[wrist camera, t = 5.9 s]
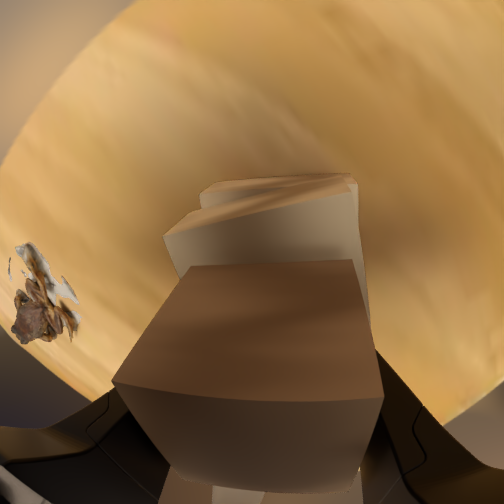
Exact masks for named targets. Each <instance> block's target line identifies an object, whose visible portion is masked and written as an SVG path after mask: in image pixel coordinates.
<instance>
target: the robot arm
mask: <svg viewBox="0 0 504 504" xmlns="http://www.w3.org/2000/svg"><path fill="white" fill-rule="evenodd" d="M375 351H376V356H377V360H378V365H379V370H380V376H381V381H382V386H383V392H384V400H383V403H382V406H381V409H380V412H379V416H378V419H377V422H376V425H375V427H374V430H373V433H372V436H371V439H370V441H369V444H368V447H367V449H366V452H365V454H364V457H363V459H362V462H361V464H360V472H361V482H362V493H363V504H504V470H502V469H498V468H493V467H490V466H488V465H485V464H484V463H482V462H481V461H479V460H478V459H477V458H475V457H474V456H473V455H472V454H471V453H470V452H469V451H468V450H466V448H465V447H464V446H462V445H461V444H460V443H459V442H458V441H457V440H456V439H455V438H454V437H453V436H452V435H451V434H449V432H448V431H447V430H446V429H445V428H444V427H443V426H442V425H440V423H439V422H438V421H437V420H436V419H435V418H434V417H433V416H432V414H431V413H430V412H429V411H428V410H427V409H426V407H425V406H423V404H422V403H421V401H420V400H419V399H418V398H417V397H416V396H415V394H414V393H413V392H412V391H411V390H410V388H409V387H408V386H407V385H406V384H405V383H404V381H403V380H402V379H401V378H400V377H399V376H398V374H397V373H396V372H395V371H394V370H393V369H392V367H391V366H390V365H389V364H388V363H387V362H386V361H385V359H384V358H383V357H382V356H381V355H380V354H379V353H378V351H377V350H376V349H375ZM170 466H171V465H170V464H169V463H168V461H167V460H166V459H165V458H164V456H163V455H162V454H161V453H160V451H159V450H158V449H157V447H156V446H155V445H154V444H153V442H152V441H151V440H150V438H149V437H148V436H147V434H146V433H145V431H144V430H143V429H142V427H141V426H140V424H139V423H138V422H137V420H136V419H135V417H134V416H133V414H132V413H131V411H130V410H129V408H128V407H127V405H126V404H125V402H124V401H123V399H122V398H121V396H120V394H119V393H118V391H117V390H116V388H115V387H114V388H113V389H111V390H110V391H109V392H107V393H106V394H104V395H103V396H101V397H100V398H98V399H97V400H95V401H94V402H92V403H91V404H89V405H87V406H86V407H84V408H82V409H81V410H79V411H77V412H75V413H73V414H72V415H70V416H68V417H67V418H64V419H62V420H61V421H59V422H57V423H55V424H53V425H51V426H49V427H46V428H41V429H25V428H14V427H4V426H0V504H158V500H159V498H160V495H161V492H162V489H163V486H164V483H165V480H166V478H167V475H168V472H169V469H170Z"/></svg>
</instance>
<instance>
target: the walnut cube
mask: <svg viewBox="0 0 504 504" xmlns="http://www.w3.org/2000/svg"><path fill="white" fill-rule="evenodd" d="M111 381H112V383H113V385H114V386H115V388H116V390H117V391H118V393H119V394H120V396H121V398H122V399H123V401H124V402H125V404H126V405H127V407H128V408H129V410H130V411H131V413H132V414H133V416H134V417H135V419H136V420H137V422H138V423H139V424H140V426H141V427H142V429H143V430H144V431H145V433H146V434H147V436H148V437H149V438H150V440H151V441H152V442H153V444H154V445H155V446H156V447H157V449H158V450H159V451H160V453H161V454H162V455H163V456H164V458H165V459H166V460H167V461H168V463H169V464H170V465H171V466H172V467H173V468H174V470H175V471H176V472H177V473H178V474H179V476H180V477H181V478H182V479H183V480H187V481H192V482H197V483H202V484H208V485H213V486H219V487H226V488H233V489H241V490H250V491H260V492H275V493H302V494H303V493H305V494H306V493H308V494H313V493H341V492H349V490H350V487H351V485H352V483H353V481H354V478H355V476H356V474H357V472H358V469H359V467H360V464H361V462H362V459H363V457H364V454H365V452H366V449H367V447H368V444H369V441H370V439H371V436H372V433H373V430H374V427H375V425H376V422H377V419H378V416H379V412H380V409H381V406H382V403H383V400H384V392H383V386H382V381H381V376H380V370H379V365H378V360H377V356H376V351H375V346H374V342H373V337H372V333H371V329H370V324H369V320H368V316H367V312H366V308H365V304H364V300H363V296H362V292H361V289H360V285H359V281H358V278H357V274H356V271H355V267H354V264H353V260H352V259H344V260H324V261H302V262H279V263H255V264H229V265H202V266H190V268H189V269H188V270H187V272H186V273H185V275H184V276H183V277H182V279H181V280H180V281H179V283H178V284H177V286H176V287H175V288H174V290H173V291H172V293H171V294H170V295H169V297H168V298H167V300H166V301H165V302H164V304H163V305H162V307H161V308H160V310H159V311H158V312H157V314H156V315H155V317H154V318H153V320H152V321H151V322H150V324H149V325H148V327H147V328H146V330H145V331H144V332H143V334H142V335H141V337H140V338H139V340H138V341H137V343H136V344H135V346H134V347H133V349H132V350H131V352H130V353H129V355H128V356H127V357H126V359H125V360H124V362H123V363H122V365H121V366H120V368H119V369H118V371H117V372H116V374H115V376H114V377H113V379H112V380H111Z"/></svg>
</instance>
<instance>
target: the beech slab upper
mask: <svg viewBox="0 0 504 504" xmlns="http://www.w3.org/2000/svg"><path fill="white" fill-rule="evenodd" d="M162 238H163V240H164V243H165V245H166V247H167V250H168V252H169V255H170V257H171V260H172V262H173V264H174V267H175V269H176V271H177V274H178V276H179V278H180V280H181V279H182V277H183V276H184V275H185V273H186V272H187V270H188V269H189V268H190V266H202V265H229V264H255V263H279V262H302V261H324V260H344V259H352V260H353V264H354V267H355V271H356V274H357V278H358V281H359V285H360V289H361V292H362V296H363V300H364V304H365V308H366V312H367V316H368V320H369V324H370V329H371V323H370V312H369V301H368V292H367V283H366V275H365V267H364V260H363V253H362V246H361V240H360V234H359V228H358V222H357V216H356V211H355V206H354V200H353V195H352V191H351V190H350V188H349V186H348V185H347V183H346V182H345V180H344V179H343V177H342V176H341V175H339V176H335V177H330V178H325V179H321V180H316V181H312V182H307V183H303V184H298V185H294V186H290V187H285V188H281V189H277V190H273V191H269V192H265V193H261V194H257V195H253V196H249V197H245V198H241V199H237V200H233V201H229V202H225V203H222V204H218V205H214V206H211V207H207V208H203V209H200V210H196V211H192V212H189V213H188V214H187V215H186V216H185V217H184V218H182V219H181V220H180V221H179V222H178V223H177V224H176V225H174V226H173V227H172V228H171V229H170V230H169V231H168V232H166V233H165V234H164V235H163V236H162Z"/></svg>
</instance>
